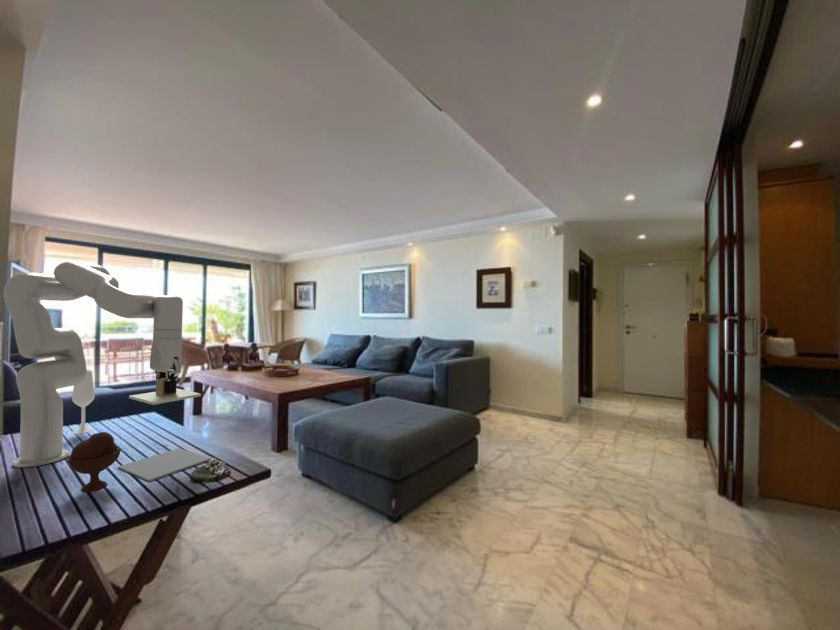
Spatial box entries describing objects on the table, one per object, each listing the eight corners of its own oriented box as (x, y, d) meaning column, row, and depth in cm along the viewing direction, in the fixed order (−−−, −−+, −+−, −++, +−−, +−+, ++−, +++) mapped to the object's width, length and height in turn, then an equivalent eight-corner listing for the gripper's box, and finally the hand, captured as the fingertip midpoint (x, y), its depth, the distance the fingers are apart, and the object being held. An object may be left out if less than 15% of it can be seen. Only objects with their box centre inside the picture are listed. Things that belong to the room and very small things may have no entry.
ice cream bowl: (114, 475, 108) (115, 424, 108) (123, 486, 101) (124, 432, 101) (64, 487, 99) (65, 432, 99) (71, 501, 92) (72, 442, 92)
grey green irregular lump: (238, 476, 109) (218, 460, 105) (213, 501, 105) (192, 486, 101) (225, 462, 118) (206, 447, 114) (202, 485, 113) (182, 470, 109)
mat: (117, 468, 112) (117, 466, 112) (179, 449, 128) (179, 448, 128) (148, 482, 104) (149, 479, 104) (210, 460, 120) (210, 458, 120)
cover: (128, 398, 113) (129, 379, 113) (176, 390, 125) (177, 373, 125) (153, 404, 106) (153, 385, 106) (201, 396, 119) (201, 378, 119)
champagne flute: (66, 433, 143) (67, 372, 143) (82, 428, 149) (83, 369, 149) (83, 433, 143) (84, 372, 143) (98, 428, 149) (99, 369, 149)
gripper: (140, 333, 116) (138, 391, 116) (169, 336, 109) (167, 398, 109) (166, 333, 123) (164, 387, 123) (195, 335, 115) (193, 393, 115)
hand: (166, 391), depth 116 cm, fingers closed on cover, 4 cm apart
